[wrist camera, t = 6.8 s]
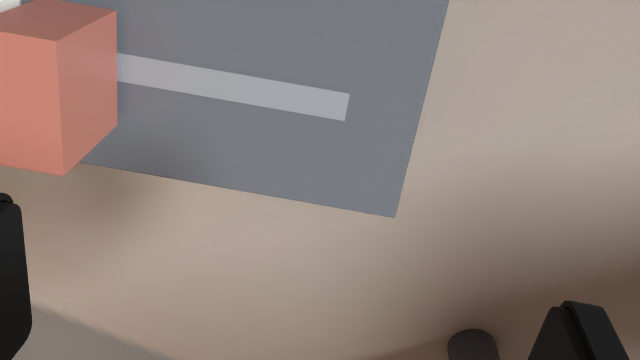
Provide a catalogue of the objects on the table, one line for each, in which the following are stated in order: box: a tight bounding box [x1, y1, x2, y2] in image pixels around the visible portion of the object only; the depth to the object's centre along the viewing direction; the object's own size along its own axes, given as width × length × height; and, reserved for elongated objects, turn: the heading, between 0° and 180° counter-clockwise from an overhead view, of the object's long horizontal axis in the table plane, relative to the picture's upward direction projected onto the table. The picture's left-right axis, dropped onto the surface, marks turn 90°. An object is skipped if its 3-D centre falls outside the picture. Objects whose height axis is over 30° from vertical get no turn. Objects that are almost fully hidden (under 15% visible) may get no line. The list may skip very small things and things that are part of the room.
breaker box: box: [0, 0, 449, 218], centre depth 22 cm, size 16×8×4 cm, turn 81°
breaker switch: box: [0, 0, 117, 176], centre depth 18 cm, size 2×4×4 cm, turn 171°
